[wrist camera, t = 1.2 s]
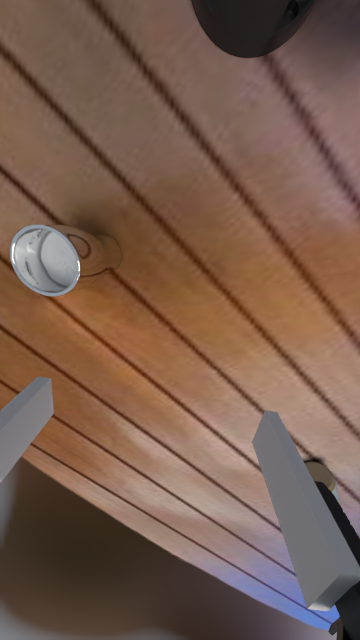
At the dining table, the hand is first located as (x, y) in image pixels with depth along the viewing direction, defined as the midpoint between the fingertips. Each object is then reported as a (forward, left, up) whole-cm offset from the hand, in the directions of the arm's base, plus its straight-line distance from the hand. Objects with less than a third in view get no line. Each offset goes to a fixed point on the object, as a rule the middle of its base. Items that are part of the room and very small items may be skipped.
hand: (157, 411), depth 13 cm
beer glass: (-5, -13, -25) cm, 29 cm away
